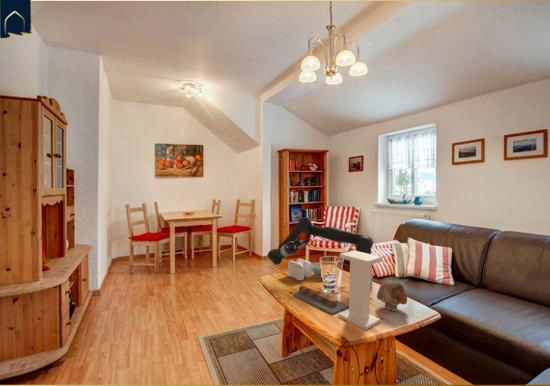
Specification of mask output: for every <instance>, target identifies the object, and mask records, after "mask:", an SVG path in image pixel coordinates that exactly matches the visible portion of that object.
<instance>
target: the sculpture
mask: <svg viewBox="0 0 550 386" xmlns="http://www.w3.org/2000/svg"><path fill="white" fill-rule="evenodd" d="M376 297H377V300H379V301H381V302H382V303H384V309H385V310H387V311H391V310H392V312H396V311H397V310H398V306H399V305H403V306H404V305H406V304H407V303H408V295H407V292H406V290H405V287H404V285H403V284H402V283H401V282H397V281H394V280H386V281H384V282H383V283H381V284H380V286H379V287H378V291H377V294H376ZM395 310H396V311H395Z"/></svg>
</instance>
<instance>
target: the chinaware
mask: <svg viewBox="0 0 550 386" xmlns="http://www.w3.org/2000/svg"><path fill="white" fill-rule="evenodd" d="M320 263H321V262H311V265H312V268H311V273H313V275H315V277H316V278H321V269H320Z"/></svg>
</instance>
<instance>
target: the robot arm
mask: <svg viewBox="0 0 550 386" xmlns="http://www.w3.org/2000/svg"><path fill="white" fill-rule="evenodd" d="M301 233H303V234H305V235H310V236H315V237H319V238H323V239H325V240H329V241H332V242H335V243H342V244H350V245H354V246H355V251H359V252H363V253H367V254H371V255H372V247H373V246H374V240H373V239H372V237H370V236H368V235H365V234H358V233H354V232H351V231H348V230H345V229H341V228H338V227H335V226H317V225H314V224H313V223H312V220H311V219H310V218H309V217H302V218H301V219H299V220H298V222H297V223H296V225H295V227H293V229H292V231H291V232H290V233H289V234H288V236H287V237H285V239H284V240H283V241H281V242H280V244H279V245H278V247H277V248H273V249H270V250H269V251H267V258H268V259H269V260H270V261H271V262H272V264H274V265H275V266H278V265H280V264H281V263H282V261H283V260H284V259H285V258H287V257H289V256H291V255H293V254H295V253H297V252H298V249H300V248H301V247H302V248H303V247H305V246H306V245H308V244H309V242H311V239H310V237H307V238H306V239H304V240H302V239H301V240H300V239H298V238H299V236H300V234H301ZM372 265H373V264H371V270H372V269H373V268H372ZM372 288H373V272H371V274H370V290H371V289H372Z"/></svg>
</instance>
